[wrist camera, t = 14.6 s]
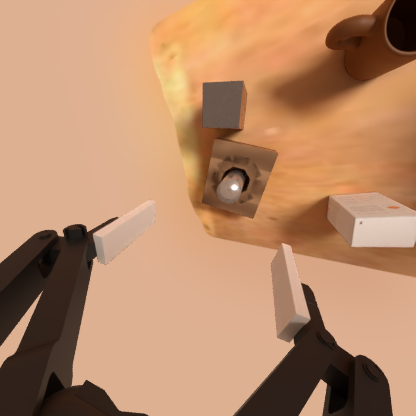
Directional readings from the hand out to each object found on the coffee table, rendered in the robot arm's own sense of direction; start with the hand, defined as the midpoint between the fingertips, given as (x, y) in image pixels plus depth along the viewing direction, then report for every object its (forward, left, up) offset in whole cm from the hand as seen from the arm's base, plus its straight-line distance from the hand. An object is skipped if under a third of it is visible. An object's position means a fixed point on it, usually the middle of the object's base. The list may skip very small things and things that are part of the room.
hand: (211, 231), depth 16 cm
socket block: (0, 0, -24) cm, 24 cm away
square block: (-12, -5, -24) cm, 28 cm away
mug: (-23, +12, -24) cm, 36 cm away
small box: (0, +24, -25) cm, 34 cm away
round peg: (0, 0, -24) cm, 24 cm away
